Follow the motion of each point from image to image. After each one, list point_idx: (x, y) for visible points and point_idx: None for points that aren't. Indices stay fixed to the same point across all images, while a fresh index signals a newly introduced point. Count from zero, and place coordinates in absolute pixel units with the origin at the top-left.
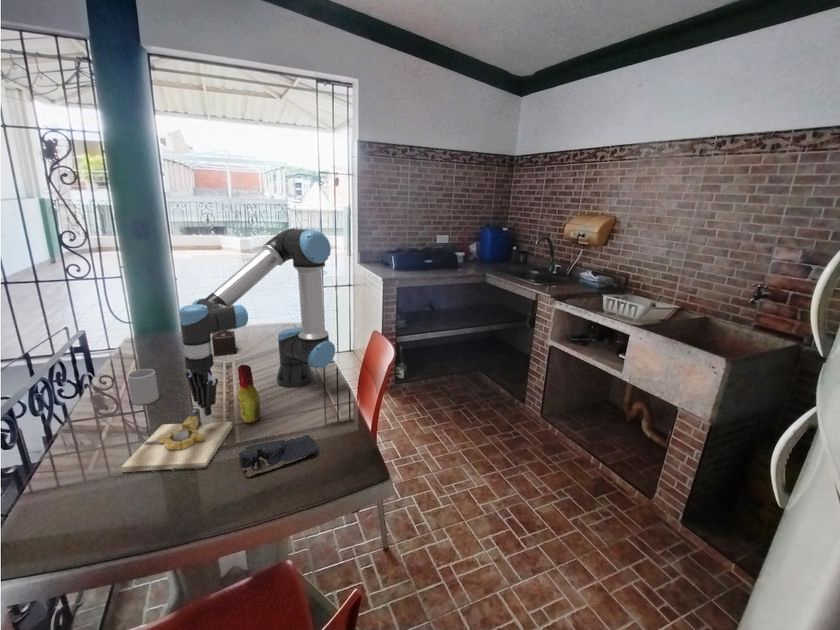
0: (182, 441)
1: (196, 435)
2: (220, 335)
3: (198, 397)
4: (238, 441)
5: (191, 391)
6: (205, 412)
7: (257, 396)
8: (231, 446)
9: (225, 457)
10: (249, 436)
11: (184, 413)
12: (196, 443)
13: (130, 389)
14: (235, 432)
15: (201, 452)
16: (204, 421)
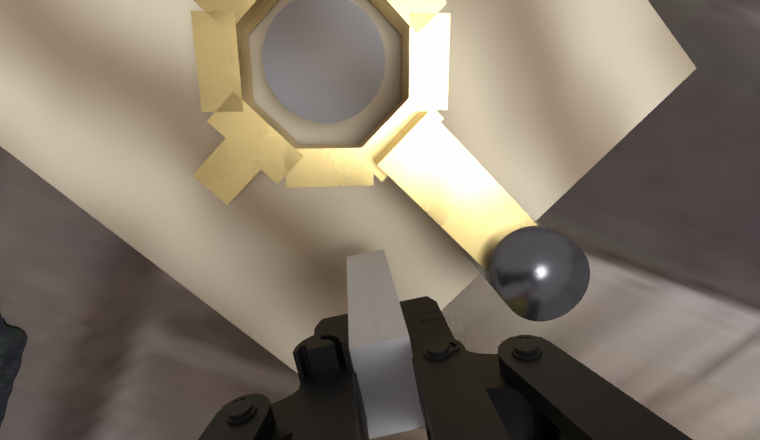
0: (213, 28)
1: (244, 154)
2: None
3: (441, 427)
4: (149, 340)
5: (675, 437)
6: (343, 331)
7: None
8: (120, 290)
9: (12, 214)
10: (160, 404)
11: (742, 249)
12: None
13: None
14: (268, 368)
15: (74, 108)
16: (349, 274)
